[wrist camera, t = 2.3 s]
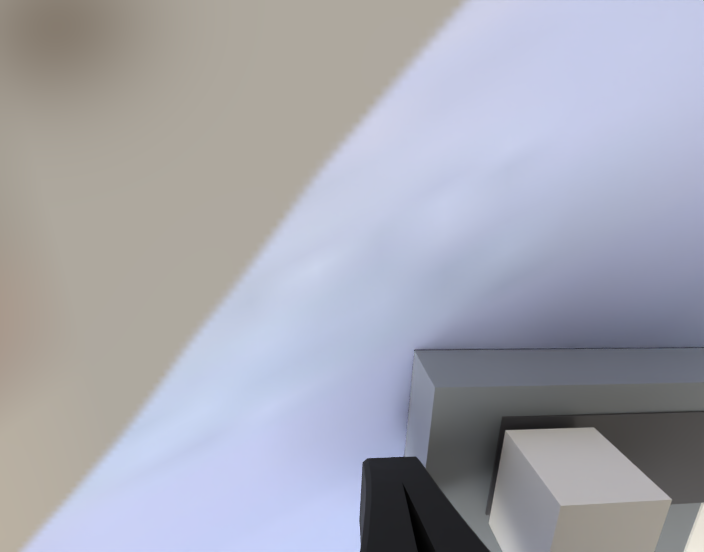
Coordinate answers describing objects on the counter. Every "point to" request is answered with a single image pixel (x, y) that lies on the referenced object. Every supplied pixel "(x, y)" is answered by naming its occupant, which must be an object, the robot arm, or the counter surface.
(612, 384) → the switch panel
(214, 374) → the counter surface
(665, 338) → the counter surface
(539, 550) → the switch tab
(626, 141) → the counter surface
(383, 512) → the robot arm
